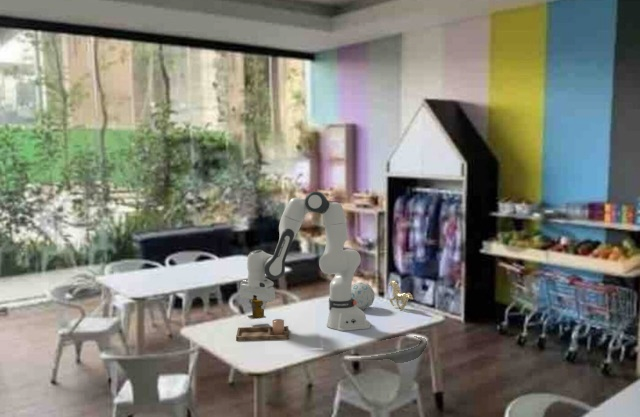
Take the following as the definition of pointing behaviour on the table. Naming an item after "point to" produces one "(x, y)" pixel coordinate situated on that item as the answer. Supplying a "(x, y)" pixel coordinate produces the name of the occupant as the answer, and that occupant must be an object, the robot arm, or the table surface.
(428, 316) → the table surface
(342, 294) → the robot arm
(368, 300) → the puzzle ball
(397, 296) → the golden horse figurine
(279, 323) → the beige cylinder
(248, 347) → the table surface
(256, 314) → the condiment
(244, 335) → the caddy
